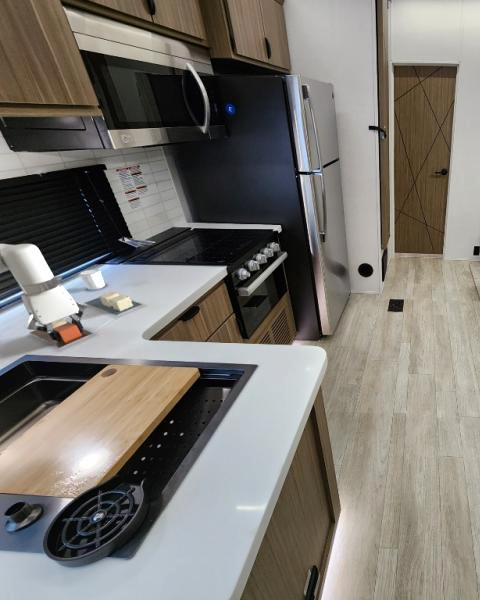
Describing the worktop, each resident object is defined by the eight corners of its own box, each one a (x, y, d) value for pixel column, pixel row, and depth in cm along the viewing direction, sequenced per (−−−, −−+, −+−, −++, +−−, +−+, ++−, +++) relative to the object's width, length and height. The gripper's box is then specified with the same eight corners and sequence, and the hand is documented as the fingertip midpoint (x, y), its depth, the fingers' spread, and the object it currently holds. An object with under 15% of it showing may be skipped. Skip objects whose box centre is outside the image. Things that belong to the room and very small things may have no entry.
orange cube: (65, 342, 105) (58, 332, 103) (58, 339, 106) (51, 328, 104) (82, 335, 108) (76, 325, 106) (75, 332, 110) (69, 321, 108)
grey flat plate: (143, 305, 127) (142, 304, 127) (117, 316, 120) (116, 315, 120) (110, 294, 135) (110, 293, 135) (84, 304, 128) (84, 302, 128)
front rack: (93, 334, 110) (93, 333, 109) (60, 349, 102) (59, 347, 102) (63, 321, 117) (62, 319, 117) (29, 334, 110) (29, 332, 110)
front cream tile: (54, 337, 107) (47, 326, 105) (47, 334, 109) (41, 323, 107) (71, 330, 111) (65, 320, 109) (64, 327, 113) (58, 317, 111)
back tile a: (120, 311, 122) (115, 301, 120) (113, 308, 124) (109, 299, 122) (133, 305, 126) (129, 296, 124) (126, 303, 127) (122, 294, 125)
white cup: (105, 282, 146) (98, 267, 143) (107, 286, 142) (100, 271, 139) (85, 286, 142) (77, 272, 139) (87, 291, 138) (79, 276, 134)
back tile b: (109, 307, 125) (105, 298, 123) (103, 304, 126) (98, 295, 125) (122, 302, 128) (118, 293, 126) (116, 299, 130) (112, 290, 128)
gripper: (68, 273, 107) (93, 320, 115) (-6, 295, 93) (29, 347, 102) (81, 277, 104) (105, 325, 112) (6, 300, 90) (41, 353, 99)
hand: (69, 335), depth 107 cm, fingers open, 5 cm apart
